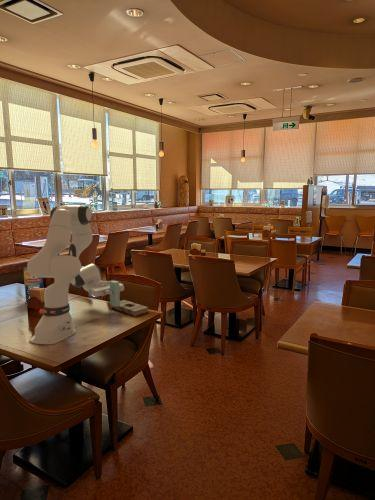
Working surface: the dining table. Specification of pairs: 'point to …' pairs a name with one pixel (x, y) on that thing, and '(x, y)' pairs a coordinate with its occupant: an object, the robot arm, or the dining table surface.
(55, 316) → the robot arm
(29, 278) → the beverage box
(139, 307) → the grey slab with hole
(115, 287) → the pale green tall block
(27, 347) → the dining table surface
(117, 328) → the dining table surface
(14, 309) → the dining table surface
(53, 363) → the dining table surface
